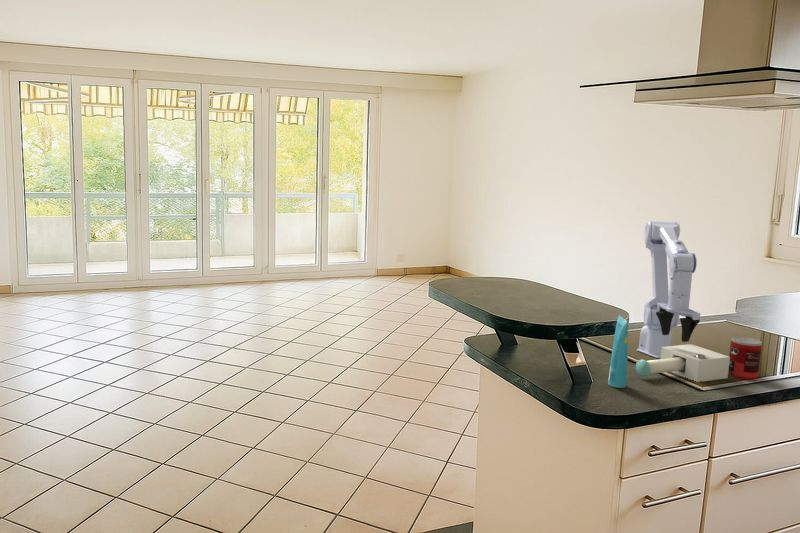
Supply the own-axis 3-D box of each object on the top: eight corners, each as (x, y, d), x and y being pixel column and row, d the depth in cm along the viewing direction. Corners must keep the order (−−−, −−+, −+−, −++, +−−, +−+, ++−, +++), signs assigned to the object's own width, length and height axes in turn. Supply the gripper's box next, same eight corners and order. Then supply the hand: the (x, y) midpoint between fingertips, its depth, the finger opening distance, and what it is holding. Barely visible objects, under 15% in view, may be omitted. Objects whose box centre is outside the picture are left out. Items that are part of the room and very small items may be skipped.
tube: (630, 390, 168) (636, 321, 165) (613, 390, 168) (619, 321, 165) (619, 380, 175) (625, 314, 172) (603, 380, 175) (608, 314, 172)
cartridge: (635, 373, 179) (636, 357, 178) (679, 368, 185) (680, 352, 185) (647, 378, 175) (648, 362, 174) (692, 373, 181) (693, 357, 180)
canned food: (730, 370, 188) (734, 335, 186) (760, 376, 183) (764, 340, 181) (724, 376, 182) (728, 339, 180) (755, 382, 177) (759, 345, 175)
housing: (659, 367, 189) (661, 347, 188) (689, 363, 193) (691, 343, 192) (696, 382, 176) (698, 360, 175) (727, 378, 180) (729, 356, 179)
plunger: (692, 367, 179) (694, 354, 178) (699, 366, 180) (700, 353, 179) (699, 370, 177) (701, 356, 176) (705, 369, 178) (707, 356, 177)
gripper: (650, 289, 188) (646, 332, 190) (688, 299, 175) (684, 345, 177) (668, 288, 191) (664, 331, 193) (707, 297, 177) (702, 343, 180)
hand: (675, 338), depth 185 cm, fingers open, 7 cm apart
